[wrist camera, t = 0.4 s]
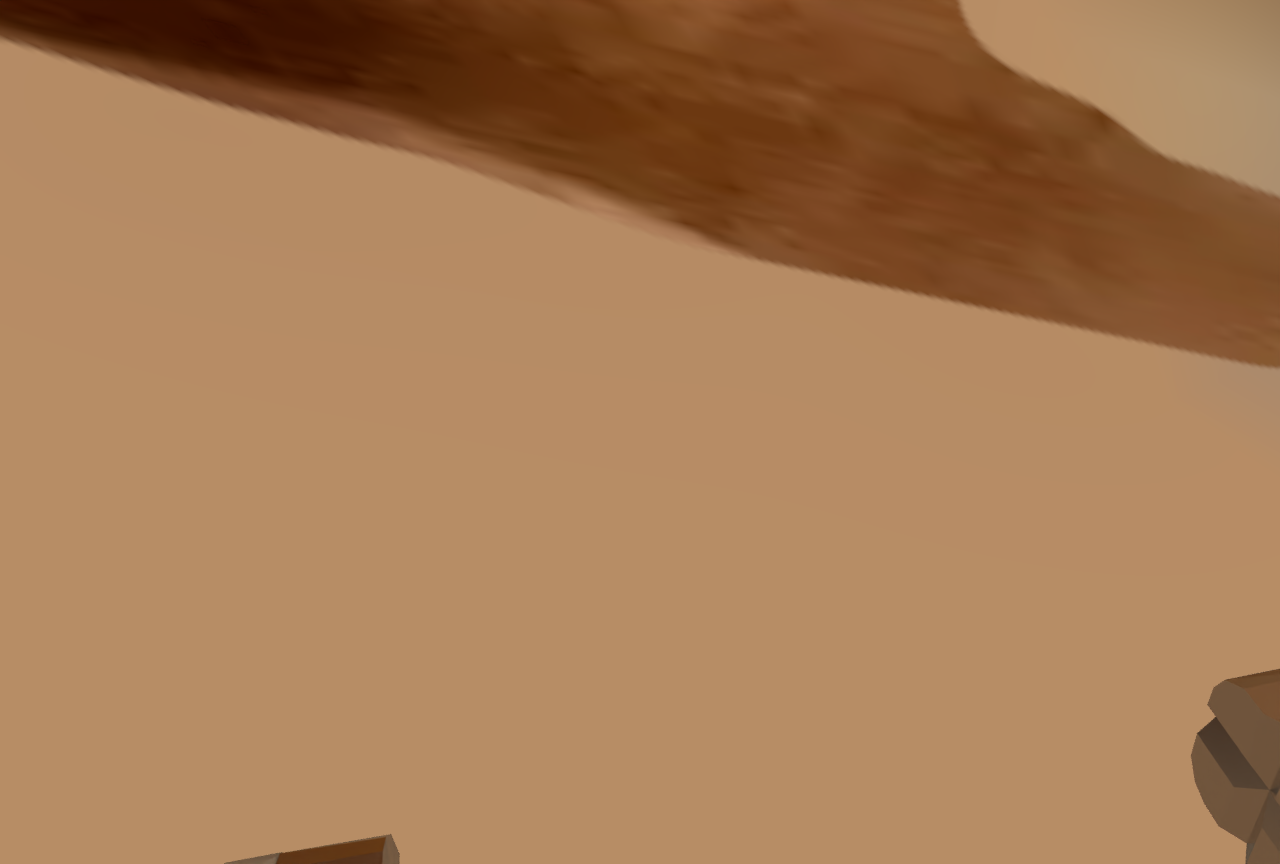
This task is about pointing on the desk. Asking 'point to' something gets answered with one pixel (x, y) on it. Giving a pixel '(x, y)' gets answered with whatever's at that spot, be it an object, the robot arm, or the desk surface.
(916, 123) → the desk surface
